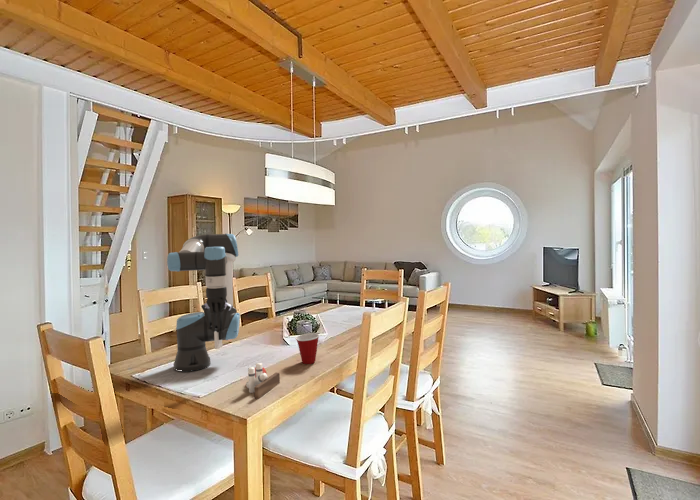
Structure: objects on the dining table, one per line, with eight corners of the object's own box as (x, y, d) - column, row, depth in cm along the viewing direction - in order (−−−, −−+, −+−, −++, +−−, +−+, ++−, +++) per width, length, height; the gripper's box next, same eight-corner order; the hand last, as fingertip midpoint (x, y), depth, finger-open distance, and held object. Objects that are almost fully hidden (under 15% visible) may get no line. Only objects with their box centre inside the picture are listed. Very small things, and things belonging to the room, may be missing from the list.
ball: (258, 384, 148) (249, 370, 149) (254, 386, 153) (246, 373, 154) (271, 375, 152) (263, 361, 153) (267, 378, 156) (259, 365, 157)
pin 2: (255, 387, 147) (254, 364, 147) (258, 384, 150) (257, 362, 150) (260, 387, 147) (260, 365, 146) (264, 385, 149) (263, 363, 149)
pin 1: (247, 392, 143) (246, 369, 142) (251, 389, 145) (250, 367, 145) (253, 393, 142) (252, 369, 142) (257, 390, 144) (256, 367, 144)
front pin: (244, 383, 146) (261, 374, 143) (248, 381, 148) (265, 371, 146) (247, 389, 146) (265, 380, 143) (251, 386, 148) (268, 377, 145)
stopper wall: (254, 398, 137) (254, 387, 137) (276, 382, 152) (275, 372, 151) (258, 398, 137) (258, 387, 137) (279, 383, 151) (279, 372, 151)
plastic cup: (296, 359, 180) (295, 333, 180) (320, 357, 181) (319, 332, 181) (295, 366, 169) (294, 339, 169) (320, 365, 170) (319, 338, 170)
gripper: (195, 287, 148) (198, 349, 149) (224, 288, 144) (226, 351, 145) (208, 285, 155) (211, 344, 156) (236, 285, 151) (238, 346, 152)
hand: (218, 347), depth 150 cm, fingers closed
